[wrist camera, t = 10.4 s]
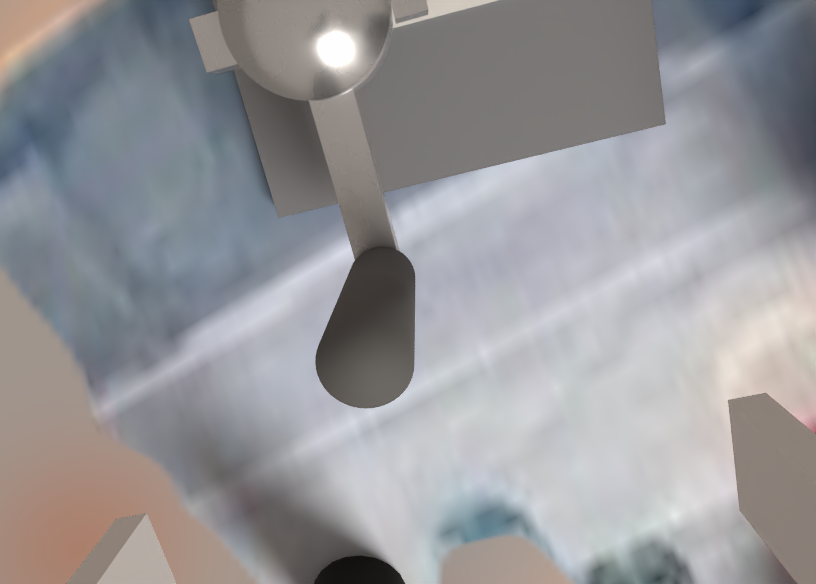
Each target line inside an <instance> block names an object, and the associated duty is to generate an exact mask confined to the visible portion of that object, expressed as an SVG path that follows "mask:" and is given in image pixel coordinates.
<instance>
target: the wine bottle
mask: <svg viewBox="0 0 816 584" xmlns="http://www.w3.org/2000/svg"><path fill="white" fill-rule="evenodd" d="M314 584H405V583H404V581H403V579H402V577H401V575H400V574H399V573H398V572H397V571H396V570H395V569H393V568H392V567H391V566H390V565H389V564H386V563H384V562H382V561H380V560H378V559H376V558H370V557H364V556H354V557H345V558H343V559H340V560H337V561H335V562H332V563H331V564H330V565H328V566H327V567H326V568H324V569H323V570H322V571H321V572H320V574H319V576H318V577H317V579H316V580H315V582H314Z"/></svg>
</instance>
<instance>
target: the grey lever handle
mask: <svg viewBox="0 0 816 584" xmlns="http://www.w3.org/2000/svg"><path fill="white" fill-rule="evenodd" d="M217 5H218V11H215V12H212V13H208V14H205V15H202V16H198V17H195V18H191V19H189V21H190V24H191V27H192V30H193V33H194V36H195V39H196V42H197V45H198V48H199V51H200V54H201V57H202V60H203V63H204V66H205V69H206V72H207V73H212V74H217V75H218V74H221V73H225V72H228V71H232V70H235V69H239V68H242V69H243V71H244V72H245V73H246V74H247V75H248V76H249V77H250V78H251V79H253V80H254V81H255V82H256V83H258V84H259V85H260V86H262V87H263V88H265V89H267V90H269V91H271V92H273V93H274V94H277V95H280V96H283V97H285V98H290V99H295V100H303V101H309V103H310V107H311V110H312V114H313V117H314V120H315V124H316V127H317V131H318V134H319V138H320V141H321V144H322V148H323V151H324V155H325V158H326V162H327V165H328V168H329V172H330V175H331V179H332V182H333V186H334V189H335V192H336V196H337V199H338V203H339V206H340V210H341V213H342V216H343V220H344V223H345V227H346V230H347V234H348V237H349V240H350V244H351V247H352V251H353V254H354V258H355V261H354V263H353V265H352V267H351V270H350V272H349V274H348V277H347V279H346V282H345V284H344V286H343V289H342V291H341V293H340V296H339V298H338V301H337V303H336V305H335V308H334V310H333V312H332V315H331V317H330V320H329V322H328V324H327V327H326V329H325V332H324V334H323V336H322V339H321V341H320V343H319V346H318V349H317V353H316V370H317V374H318V377H319V379H320V381H321V383H322V385H323V386H324V388H325V389H326V390H327V391H328V392H329V393H330V394H331V395H332V396H333V397H334V398H335V399H337V400H339V401H340V402H342V403H344V404H347V405H350V406H353V407H358V408H375V407H379V406H383V405H385V404H388V403H390V402H392V401H393V400H395V399H396V398H398V397H399V396H400V395H401V394H402V393H403V392H404V391H405V389H406V388H407V387H408V385H409V383H410V381H411V378H412V376H413V371H414V342H415V272H414V269H413V266H412V264H411V262H410V261H409V259H408V258H407V257H406V256H405V255H404V254H403V253H401V252H400V251H399V247H398V243H397V239H396V236H395V232H394V228H393V224H392V221H391V217H390V213H389V210H388V206H387V202H386V198H385V195H384V191H383V187H382V184H381V180H380V176H379V172H378V169H377V165H376V161H375V158H374V154H373V150H372V146H371V143H370V139H369V135H368V132H367V128H366V124H365V120H364V117H363V113H362V109H361V106H360V102H359V98H358V94H357V91H359V90H360V89H361V88H363V87H364V86H365V85H366V84H368V83H369V82H370V81H371V80H372V79H373V77H374V76H375V75H376V74H377V73H378V71H379V70H380V68H381V66H382V65H383V63H384V61H385V59H386V56H387V54H388V51H389V48H390V45H391V40H392V34H393V14H394V18H395V22H396V24H397V23H401V22H404V21H408V20H411V19H415V18H419V17H422V16H426V15H428V10H429V9H428V5H427V0H217ZM391 6H392V7H391ZM392 10H393V12H392Z"/></svg>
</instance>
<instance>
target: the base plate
mask: <svg viewBox="0 0 816 584" xmlns="http://www.w3.org/2000/svg"><path fill="white" fill-rule="evenodd" d="M212 1H213V5H214V8H215V11H218V5H217V0H212ZM427 5H428V9H429V10H428V15H426V16H422V17H419V18H415V19H411V20H408V21H404V22H401V23H397V24H396V22H395V18H394V14H393V34H392V40H391V45H390V48H389V51H388V54H387V56H386V59H385V61H384V63H383V65H382V66H381V68H380V70H379V71H378V73H377V74H376V75H375V76H374V77H373V79H372V80H371V81H370V82H369V83H368V84H366V85H365V86H364V87H363V88H361V89H360V90H359V91H357V94H358V98H359V102H360V106H361V109H362V113H363V117H364V120H365V124H366V128H367V132H368V135H369V139H370V143H371V146H372V150H373V154H374V158H375V161H376V165H377V169H378V172H379V176H380V180H381V184H382V187H383V191H384V192H388V191H392V190H396V189H400V188H404V187H408V186H412V185H416V184H421V183H425V182H429V181H433V180H437V179H441V178H445V177H449V176H454V175H458V174H462V173H466V172H470V171H474V170H478V169H482V168H487V167H491V166H495V165H499V164H503V163H507V162H511V161H515V160H520V159H524V158H528V157H532V156H536V155H540V154H544V153H548V152H553V151H557V150H561V149H565V148H569V147H573V146H577V145H581V144H586V143H590V142H594V141H598V140H602V139H606V138H610V137H614V136H619V135H623V134H627V133H631V132H635V131H639V130H643V129H647V128H652V127H656V126H660V125H664V124H666V122H665V114H664V105H663V97H662V88H661V79H660V71H659V62H658V54H657V45H656V36H655V28H654V19H653V11H652V2H651V0H427ZM391 7H392V6H391ZM392 12H393V10H392ZM234 74H235V77H236V80H237V83H238V87H239V90H240V93H241V96H242V100H243V103H244V106H245V110H246V113H247V116H248V119H249V123H250V126H251V129H252V133H253V136H254V139H255V142H256V146H257V149H258V152H259V155H260V159H261V162H262V165H263V169H264V172H265V175H266V178H267V182H268V185H269V188H270V191H271V195H272V198H273V201H274V205H275V208H276V211H277V214H278V218H280V217H285V216H289V215H293V214H297V213H301V212H305V211H309V210H313V209H318V208H322V207H326V206H330V205H334V204H338V199H337V196H336V192H335V189H334V186H333V182H332V179H331V175H330V172H329V168H328V165H327V162H326V158H325V155H324V151H323V148H322V144H321V141H320V138H319V134H318V131H317V127H316V124H315V120H314V117H313V114H312V110H311V107H310V103H309V101H303V100H295V99H290V98H285V97H283V96H280V95H277V94H274V93H273V92H271V91H269V90H267V89H265V88H263V87H262V86H260V85H259V84H258V83H256V82H255V81H254V80H253V79H251V78H250V77H249V76H248V75H247V74H246V73H245V72H244V71H243V69H242V68H239V69H235V70H234Z"/></svg>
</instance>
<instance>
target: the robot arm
mask: <svg viewBox="0 0 816 584" xmlns="http://www.w3.org/2000/svg"><path fill="white" fill-rule="evenodd" d="M728 404H729V413H730V423H731V433H732V442H733V452H734V461H735V471H736V480H737V490H738V499H739V509H740V511H741V513H742V514H743V515H744V516H745V518H746V519H747V520H748V522H749V523H750V524H751V525H752V527H753V528H754V529H755V531H756V532H757V533H758V534H759V536H760V537H761V538H762V540H763V541H764V542H765V543H766V545H767V546H768V547H769V549H770V550H771V551H772V552H773V554H774V555H775V556H776V557H777V559H778V560H779V561H780V563H781V564H782V565H783V566H784V568H785V569H786V570H787V572H788V573H789V574H790V575H791V577H792V578H793V579H794V581H795V582H796V583H797V584H816V434H814V433H813V432H812V431H811V430H810V429H808V428H807V427H806V426H805V425H804V424H802V423H801V422H800V421H799V420H798V419H797V418H795V417H794V416H793V415H792V414H791V413H789V412H788V411H787V410H786V409H785V408H783V407H782V406H781V405H780V404H779V403H777V402H776V401H775V400H774V399H773V398H771V397H770V396H769V395H768V394H767V393H762V394H757V395H752V396H747V397H742V398H737V399H731V400H728ZM66 584H176V581H175V579H174V577H173V574H172V572H171V570H170V567H169V565H168V563H167V560H166V558H165V556H164V553H163V551H162V548H161V546H160V544H159V541H158V539H157V536H156V534H155V532H154V530H153V527H152V525H151V522H150V520H149V518H148V515H147V513H145V514H140V515H135V516H129V517H125V518H119V519H116V520H115V521H114V522H113V524H112V525H111V526H110V528H109V529H108V530H107V532H106V533H105V534H104V535H103V537H102V538H101V539H100V541H99V542H98V543H97V545H96V546H95V547H94V548H93V550H92V551H91V552H90V554H89V555H88V556H87V557H86V559H85V560H84V561H83V563H82V564H81V565H80V567H79V568H78V569H77V570H76V572H75V573H74V575H73V576H72V577H71V578H70V580H69V581H68V582H67V583H66Z"/></svg>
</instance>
